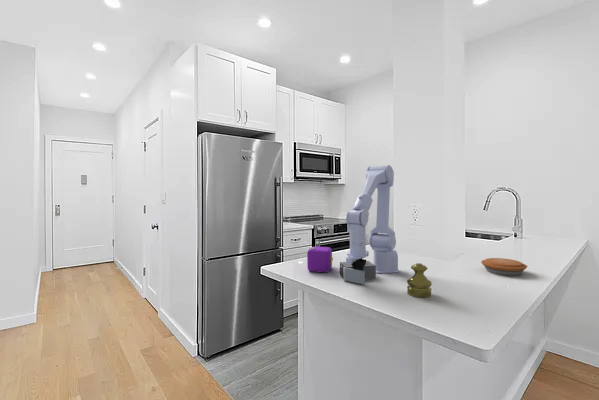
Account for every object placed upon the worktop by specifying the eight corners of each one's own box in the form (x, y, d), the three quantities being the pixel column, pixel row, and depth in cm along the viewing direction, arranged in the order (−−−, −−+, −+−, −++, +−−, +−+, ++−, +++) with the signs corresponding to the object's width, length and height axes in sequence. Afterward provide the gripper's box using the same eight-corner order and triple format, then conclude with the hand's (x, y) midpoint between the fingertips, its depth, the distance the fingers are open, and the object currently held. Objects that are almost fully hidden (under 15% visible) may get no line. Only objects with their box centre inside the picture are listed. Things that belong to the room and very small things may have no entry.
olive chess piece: (429, 299, 92) (429, 267, 92) (404, 295, 96) (404, 264, 96) (433, 292, 99) (433, 262, 98) (409, 289, 102) (409, 260, 102)
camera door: (364, 283, 108) (364, 270, 108) (363, 284, 107) (363, 271, 107) (344, 279, 114) (344, 266, 113) (342, 280, 113) (342, 267, 112)
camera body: (368, 272, 123) (368, 259, 123) (375, 278, 115) (375, 263, 115) (338, 274, 121) (338, 260, 121) (343, 280, 113) (343, 265, 113)
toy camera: (332, 265, 137) (332, 243, 137) (333, 273, 123) (332, 249, 123) (309, 265, 138) (308, 243, 138) (307, 273, 124) (306, 249, 124)
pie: (527, 280, 111) (527, 266, 111) (478, 273, 120) (479, 261, 120) (527, 271, 123) (527, 259, 123) (483, 265, 132) (483, 254, 132)
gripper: (356, 238, 118) (357, 272, 118) (338, 244, 106) (339, 282, 107) (373, 240, 114) (374, 275, 114) (356, 246, 102) (357, 285, 102)
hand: (358, 279), depth 110 cm, fingers closed, pressing on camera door
